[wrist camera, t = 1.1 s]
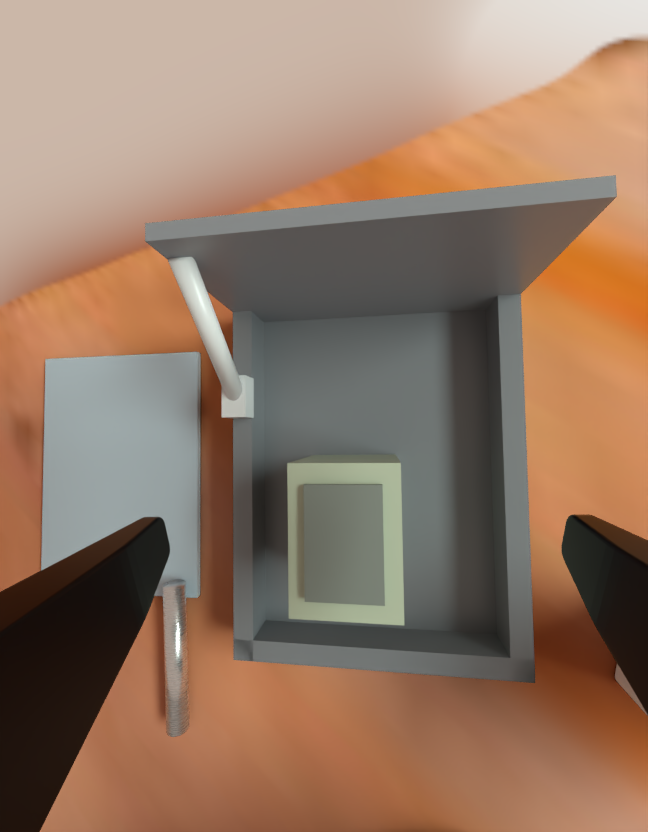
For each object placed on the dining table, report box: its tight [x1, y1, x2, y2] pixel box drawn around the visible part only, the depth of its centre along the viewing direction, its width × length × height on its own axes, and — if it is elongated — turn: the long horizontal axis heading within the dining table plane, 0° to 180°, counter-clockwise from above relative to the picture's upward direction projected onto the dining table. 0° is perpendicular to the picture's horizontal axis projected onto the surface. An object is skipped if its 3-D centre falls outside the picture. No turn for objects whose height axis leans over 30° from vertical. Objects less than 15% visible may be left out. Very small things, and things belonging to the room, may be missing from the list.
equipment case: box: [145, 175, 617, 683], centre depth 16 cm, size 18×14×10 cm
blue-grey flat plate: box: [41, 352, 201, 598], centre depth 23 cm, size 14×10×1 cm
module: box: [287, 454, 404, 626], centre depth 18 cm, size 6×4×6 cm
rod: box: [163, 579, 189, 737], centre depth 21 cm, size 8×1×1 cm, turn 1°
